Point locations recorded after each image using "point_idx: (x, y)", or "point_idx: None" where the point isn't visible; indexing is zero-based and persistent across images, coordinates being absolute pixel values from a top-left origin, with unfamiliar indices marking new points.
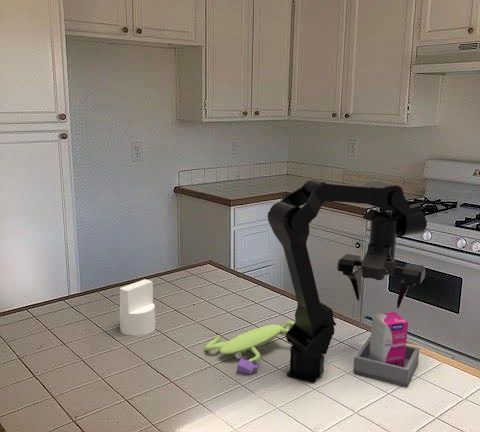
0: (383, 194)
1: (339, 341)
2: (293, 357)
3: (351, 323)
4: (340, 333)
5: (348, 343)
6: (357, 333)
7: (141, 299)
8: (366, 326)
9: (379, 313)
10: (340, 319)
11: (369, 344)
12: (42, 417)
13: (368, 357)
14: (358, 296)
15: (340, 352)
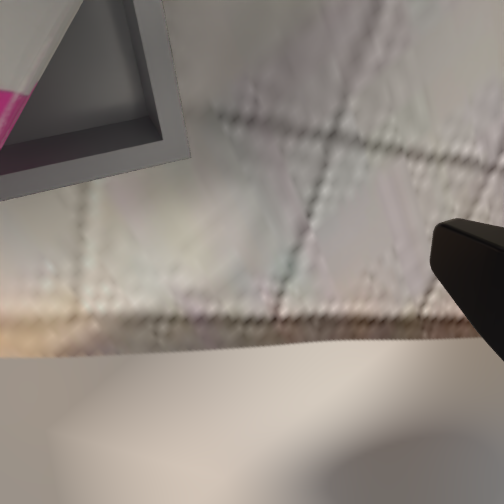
0: None
1: (340, 136)
2: None
3: (350, 319)
4: (361, 212)
5: (296, 147)
6: (298, 265)
7: None
8: (290, 341)
9: (24, 64)
10: (397, 315)
11: (148, 83)
12: None
13: (110, 11)
14: (485, 240)
15: (293, 14)
